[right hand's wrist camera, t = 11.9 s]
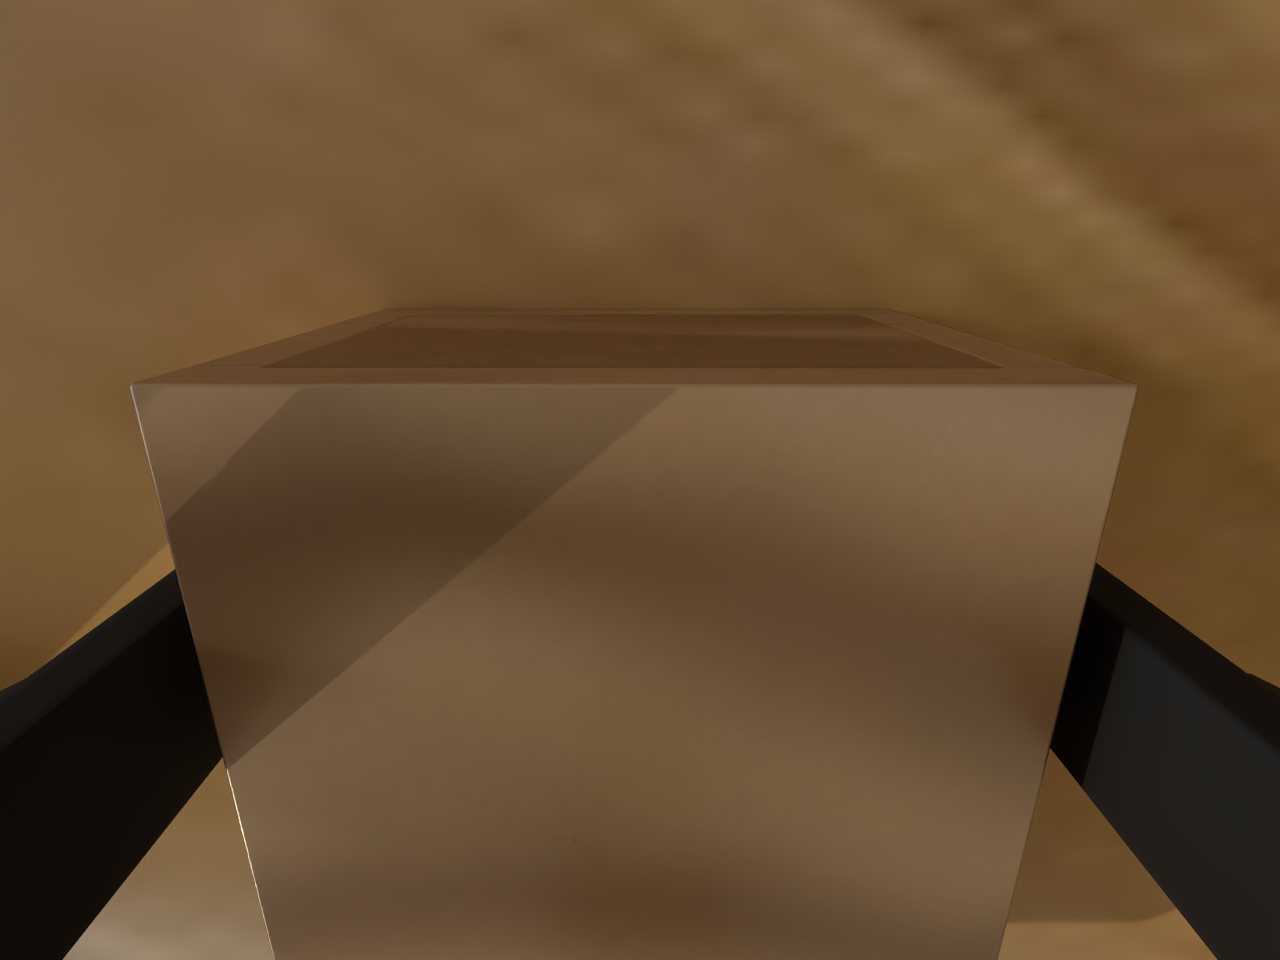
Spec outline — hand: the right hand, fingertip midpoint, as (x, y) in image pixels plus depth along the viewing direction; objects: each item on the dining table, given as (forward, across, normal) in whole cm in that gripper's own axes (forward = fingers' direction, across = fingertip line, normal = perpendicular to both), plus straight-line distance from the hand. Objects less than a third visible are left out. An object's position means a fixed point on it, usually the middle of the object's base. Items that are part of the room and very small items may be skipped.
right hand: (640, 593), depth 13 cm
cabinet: (+4, 0, -4) cm, 6 cm away
